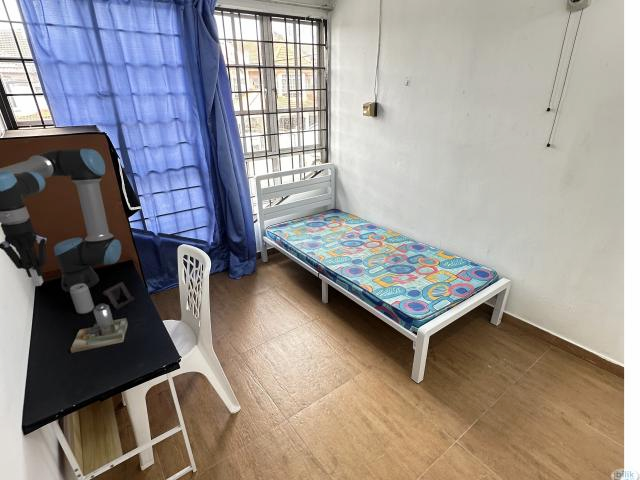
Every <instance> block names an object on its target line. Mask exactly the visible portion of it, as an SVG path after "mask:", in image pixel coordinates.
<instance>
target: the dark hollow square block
mask: <svg viewBox="0 0 640 480" xmlns="http://www.w3.org/2000/svg"><path fill="white" fill-rule="evenodd" d="M121 290H122V292H123V294H124V296H125V297H126V299H127V300H126V301H125V300H124V302H123V301H122V302H121V303H118V300H120V294H121ZM102 294H103V295H104V296H107V297H108V299H109V305H111V304H112V306H113V308H114V309H115V310H117V311H118V310H119V309H121V308H122V307H124V306H126V305H128V304H129V303H130V302H133V301H134V300H135V295H131V293H130V292H129V290H128V288H127V287H126V285H125V283H124V282H123V281H120V282H117V284H114V285H113V286H111V287H108V288H107V289H105V290H103V291H102Z"/></svg>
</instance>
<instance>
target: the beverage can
mask: <svg viewBox="0 0 640 480" xmlns="http://www.w3.org/2000/svg"><path fill="white" fill-rule="evenodd" d="M69 293H70V296H71V299H72V302H73V305H74V309H75V311H76V312H77V314H80V315H81V314H83V315H84V314H88V313H90V312H92V311H93V310H94V309H95V304H94V302H93V298H92V295H91V292H90V288H88V286H86V284H84V283H81V284H76V285H74V286H72V287H71V288H70V292H69Z"/></svg>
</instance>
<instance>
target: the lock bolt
mask: <svg viewBox="0 0 640 480" xmlns="http://www.w3.org/2000/svg"><path fill="white" fill-rule="evenodd" d="M88 328H89V327H87V329H86V328H83V329H84V331H83V334H82V336H83V339H84V340H86V335H87V334H90V335H91V334H95V336H100V330H99V328H98V329H93V330H88Z"/></svg>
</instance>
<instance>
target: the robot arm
mask: <svg viewBox="0 0 640 480" xmlns="http://www.w3.org/2000/svg"><path fill="white" fill-rule="evenodd" d="M105 173H106V164H105V161H104V159H103V157H102V155H101V154H100V153H99V151H97V150H95V149H91V148H72V149H55V150H54V149H53V150H49V151H46V152H42V153H39V154H35V155H32V156H30V157H29V158H28V159H27V160H25V161H21V162H20V161H19V162H18V163H15V164H10V165H8V166H3V167H1V168H0V223H1V224H0V228H1V231H2V232H3V234H4V241H2V242H0V249H1V250H3V252H4V253H5V255H6V256H7V257H8V258H9V259H10V260H11V261H12V264H14V266H15V267H16V269H19V270H20V269H23V270H25V272H26V274H27V276H28V278H32V279H31V280H32V281H33V283H34V286H35V287H39V286H40V287H41V286H42V285H43V283H44V279H43V277H42V275H43V274H44V271H43V268H42V267H43V266H44V265H45V264H46V263H47V249H46V246H47V245H46V244H47V241H48V239H49V238H48V237H47V236H43V237H42V236H39V235H38V233H37V232H35V228H34V226H33V223H32V222H33V221H32V220H31V219H30V214H29V212H28V209H27V206H26V204H25V200H24V199H25V198H28V197H30V196H33V195H36V194H38V193H39V192H41V191H43V190H44V188H45V187H46V181H45V180H46V179H47V178H52V177H70V181H71V182H72V183H74V184H75V186H76V188H77V194H78V197H79V202H80V205H81V211H82V216H83V220H84V224H85V229H86V232H87V236H86V237H85V239H83V237H73V238H68V239H66V240H62V241H60V242H58V243H57V244H55V245H54V246H53V251H54V256H55V257H56V260H57V263H58V266H59V268H60V272H61V274H62V275H61V288H62V290H63V291H64V292H66V293H67V292H68V293H70V288H71V287H72V286H74V285H76V284H81V283H84V284H86V286H88V289H90V288H93V287H94V286H96V285H97V284H98V283H99V282H100V278H99V275H98V274H97V273H96V272H95V270H94V269H93V267H92V266H100V265H105V266H107V265H113V264H115V263H117V262H118V261H119V260H120V257H121V254H122V243H121V242H120V240H119V239H115V236H114V234H112V232H111V233H110V228H109V225H108V221H107V215H106V210H105V206H104V201H103V196H102V191H101V186H100V182H101V181H102V179H103V178H102V176H104V175H105ZM36 241H37V244H38V253H37V250H36V248H35V246H36V245H35V243H36ZM12 246H13V247H14V248H15V250H16V251H15V250H14V248H13V247H12Z"/></svg>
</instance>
